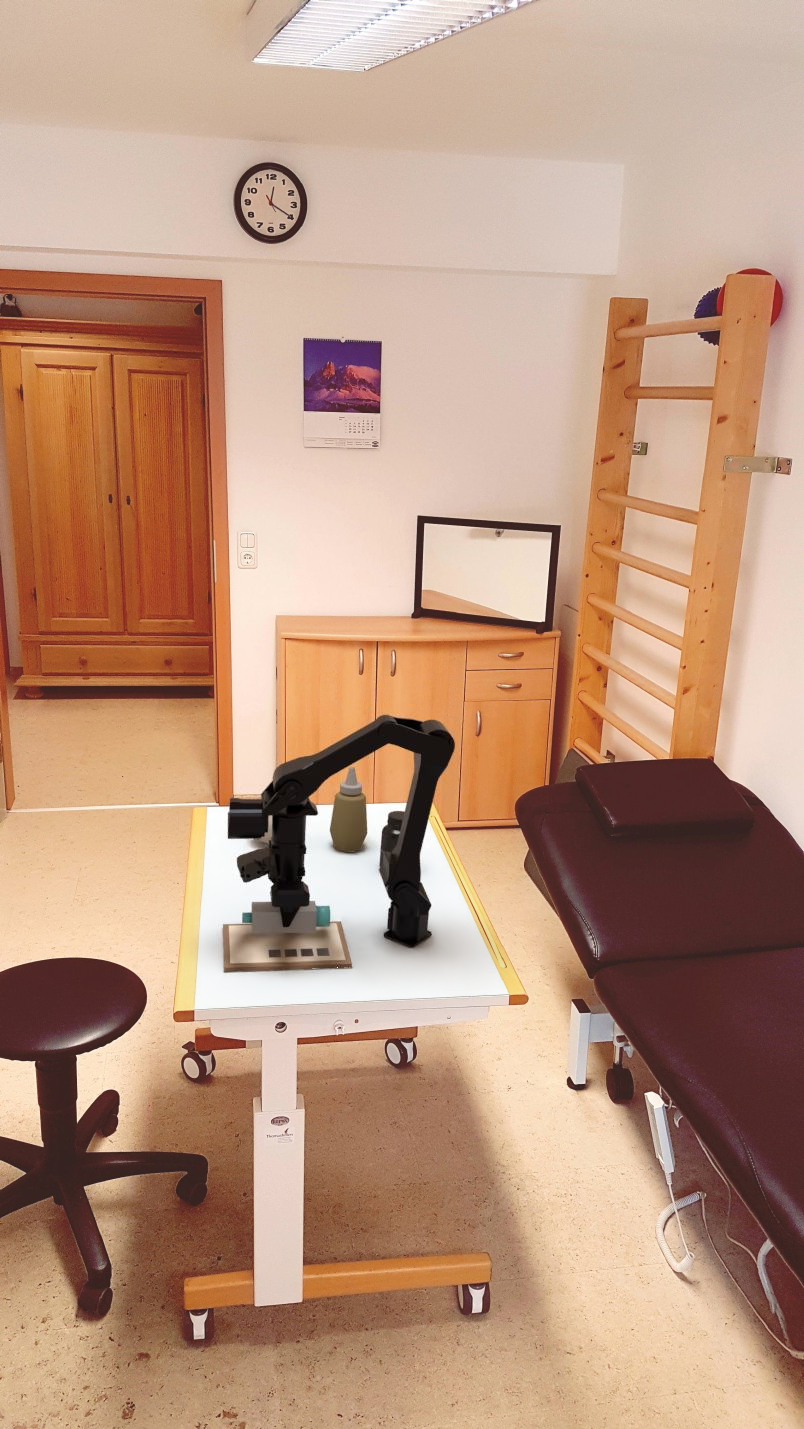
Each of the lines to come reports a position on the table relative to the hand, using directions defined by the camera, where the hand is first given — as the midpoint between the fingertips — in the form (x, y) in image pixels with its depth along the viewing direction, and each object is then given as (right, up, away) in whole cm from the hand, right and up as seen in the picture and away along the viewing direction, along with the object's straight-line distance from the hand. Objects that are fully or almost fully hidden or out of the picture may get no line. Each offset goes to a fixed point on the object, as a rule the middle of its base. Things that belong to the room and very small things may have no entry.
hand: (285, 920), depth 176 cm
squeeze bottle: (+9, +7, +41) cm, 43 cm away
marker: (0, -1, 0) cm, 1 cm away
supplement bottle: (+19, +4, +32) cm, 38 cm away
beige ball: (-7, +8, +41) cm, 42 cm away
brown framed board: (0, -4, -2) cm, 5 cm away
